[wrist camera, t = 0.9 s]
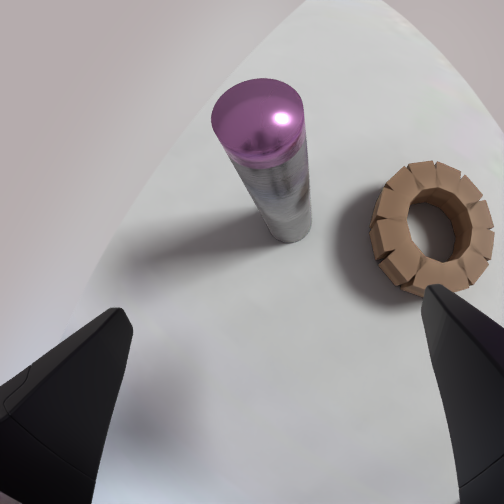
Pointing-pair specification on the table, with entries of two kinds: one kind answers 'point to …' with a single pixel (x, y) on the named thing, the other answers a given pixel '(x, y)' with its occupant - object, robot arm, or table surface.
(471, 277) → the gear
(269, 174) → the purple capped tube
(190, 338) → the table surface
